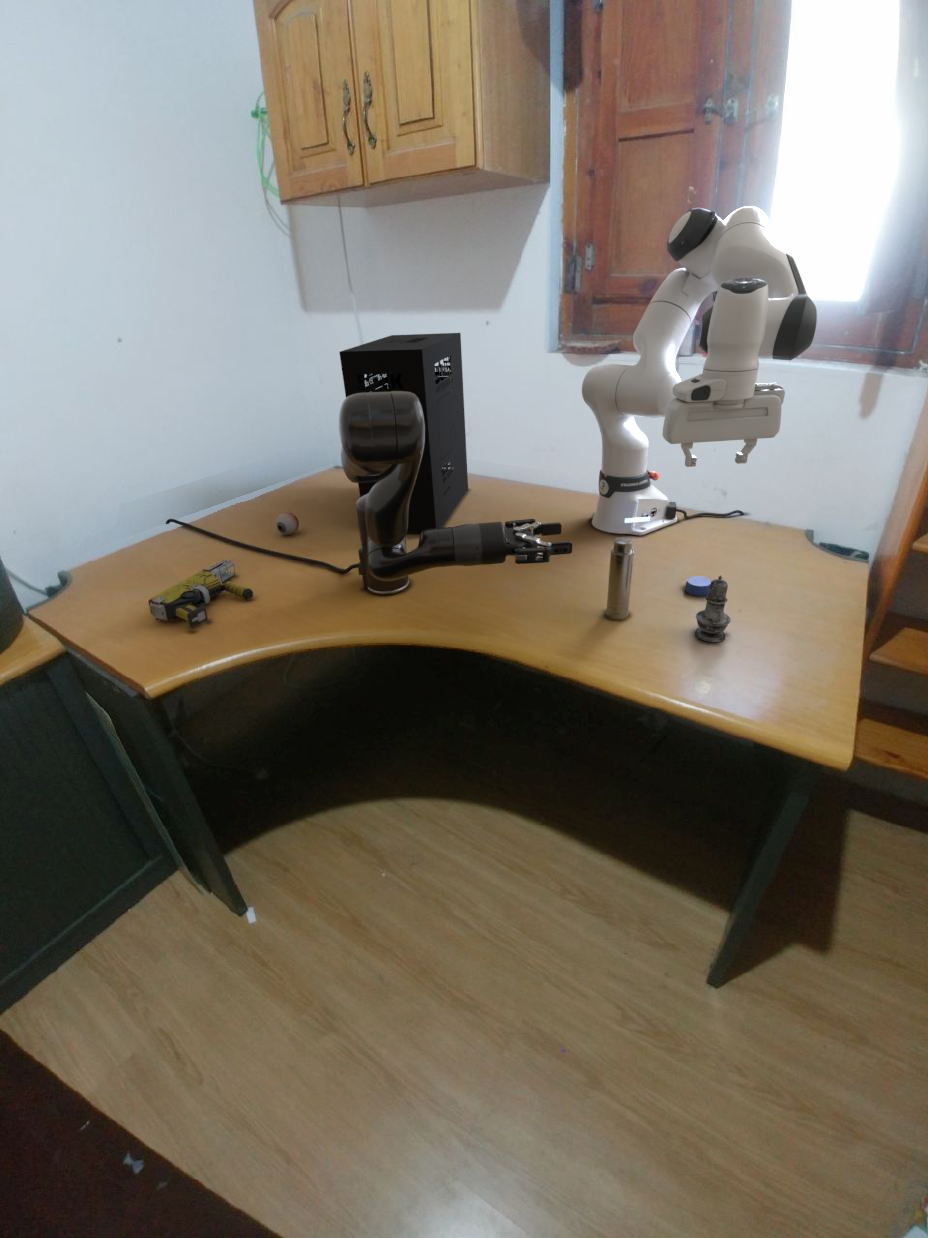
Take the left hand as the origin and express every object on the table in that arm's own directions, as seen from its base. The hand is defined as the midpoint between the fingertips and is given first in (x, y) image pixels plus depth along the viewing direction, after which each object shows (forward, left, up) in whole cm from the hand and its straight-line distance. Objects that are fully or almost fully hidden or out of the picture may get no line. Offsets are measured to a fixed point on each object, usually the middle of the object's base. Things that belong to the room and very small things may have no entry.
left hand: (566, 537), depth 110 cm
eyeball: (-81, +26, -17) cm, 87 cm away
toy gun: (-74, -12, -17) cm, 77 cm away
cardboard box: (-54, +52, -17) cm, 77 cm away
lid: (+24, +18, -15) cm, 34 cm away
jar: (+10, +4, -17) cm, 20 cm away
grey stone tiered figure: (+27, +1, -17) cm, 32 cm away
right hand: (+24, +18, +10) cm, 31 cm away
